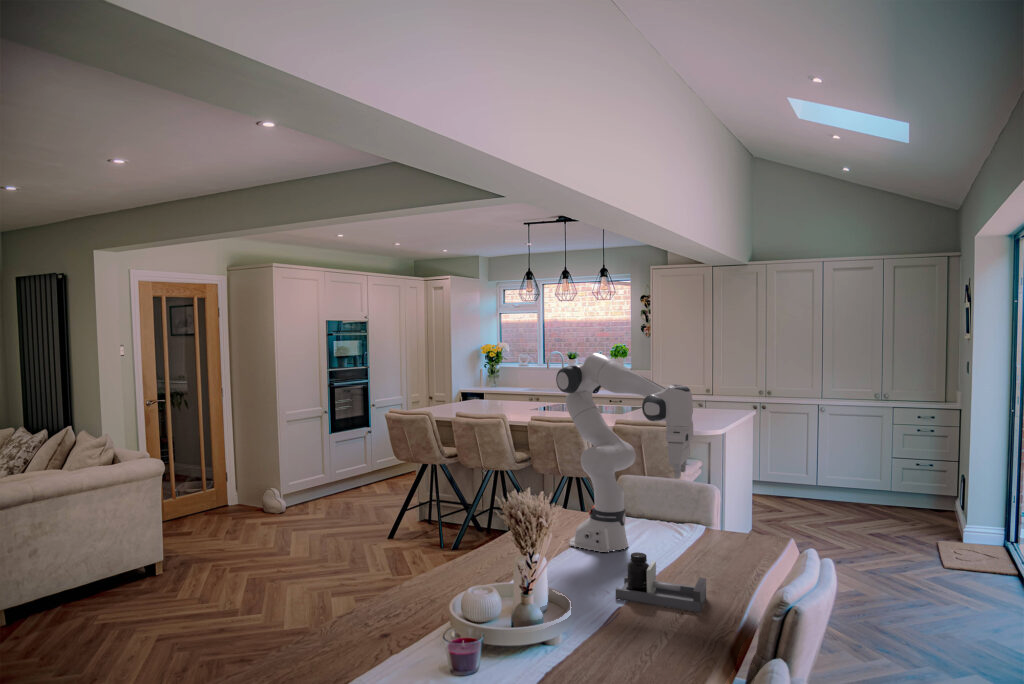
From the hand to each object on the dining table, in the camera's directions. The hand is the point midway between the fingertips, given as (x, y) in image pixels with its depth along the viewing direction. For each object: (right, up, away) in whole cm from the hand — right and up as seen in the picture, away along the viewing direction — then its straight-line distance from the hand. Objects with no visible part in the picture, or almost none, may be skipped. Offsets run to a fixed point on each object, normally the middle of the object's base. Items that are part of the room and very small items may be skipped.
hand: (680, 474), depth 215 cm
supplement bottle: (-18, -33, -18) cm, 42 cm away
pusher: (-10, -33, -21) cm, 40 cm away
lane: (-11, -33, -21) cm, 41 cm away
